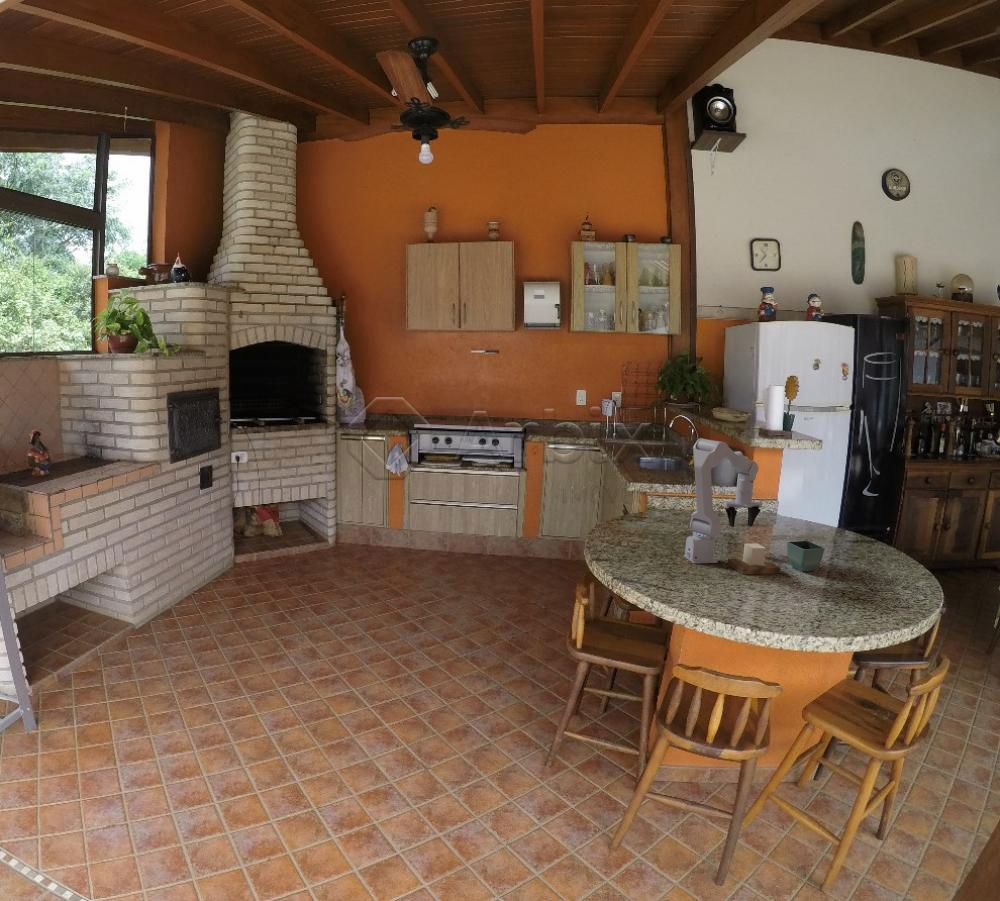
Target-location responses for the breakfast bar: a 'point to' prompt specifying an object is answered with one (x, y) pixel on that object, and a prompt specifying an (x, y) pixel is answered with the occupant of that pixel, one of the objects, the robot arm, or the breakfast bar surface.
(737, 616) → the breakfast bar surface
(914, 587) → the breakfast bar surface
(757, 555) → the cream block
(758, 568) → the walnut base
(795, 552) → the flower pot
